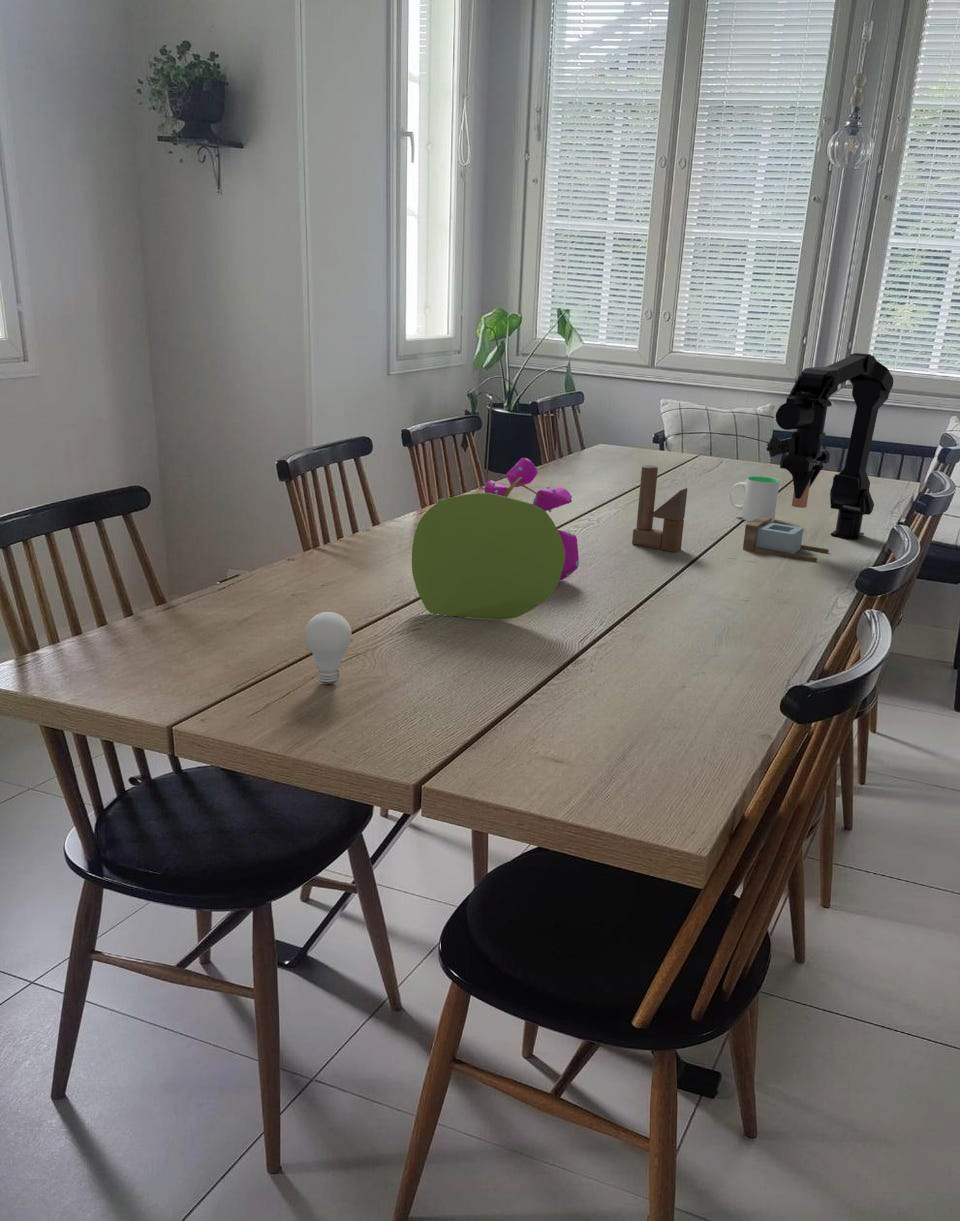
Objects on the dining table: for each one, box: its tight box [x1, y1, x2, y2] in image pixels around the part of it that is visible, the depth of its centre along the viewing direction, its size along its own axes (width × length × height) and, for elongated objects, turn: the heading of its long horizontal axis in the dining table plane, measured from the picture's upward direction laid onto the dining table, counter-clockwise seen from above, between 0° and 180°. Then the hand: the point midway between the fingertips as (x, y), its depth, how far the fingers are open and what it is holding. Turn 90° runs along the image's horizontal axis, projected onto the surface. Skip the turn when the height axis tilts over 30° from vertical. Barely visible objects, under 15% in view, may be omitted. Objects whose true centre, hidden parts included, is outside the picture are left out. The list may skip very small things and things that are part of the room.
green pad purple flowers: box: [411, 457, 580, 620], centre depth 190 cm, size 30×28×35 cm
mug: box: [729, 475, 780, 523], centre depth 259 cm, size 12×8×10 cm, turn 64°
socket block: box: [756, 522, 805, 554], centre depth 229 cm, size 8×8×5 cm
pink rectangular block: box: [791, 479, 811, 509], centre depth 225 cm, size 3×3×7 cm
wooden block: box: [631, 464, 688, 553], centre depth 226 cm, size 4×11×18 cm, turn 56°
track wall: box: [742, 516, 830, 563], centre depth 228 cm, size 11×16×6 cm
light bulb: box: [304, 611, 352, 685], centre depth 145 cm, size 7×7×11 cm
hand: (799, 497), depth 226 cm, fingers closed on pink rectangular block, 3 cm apart
